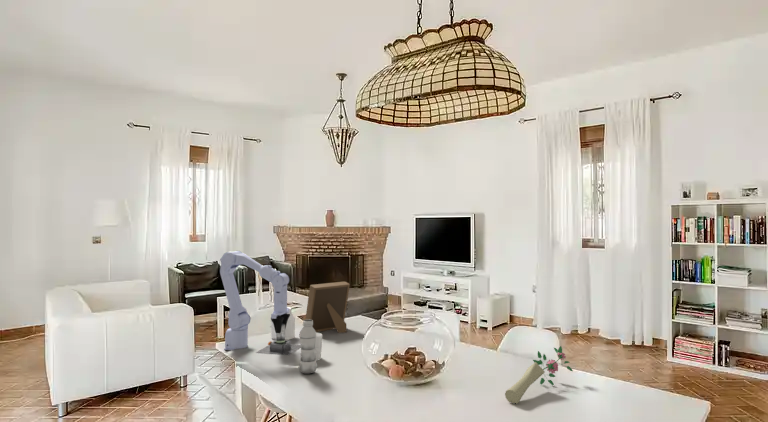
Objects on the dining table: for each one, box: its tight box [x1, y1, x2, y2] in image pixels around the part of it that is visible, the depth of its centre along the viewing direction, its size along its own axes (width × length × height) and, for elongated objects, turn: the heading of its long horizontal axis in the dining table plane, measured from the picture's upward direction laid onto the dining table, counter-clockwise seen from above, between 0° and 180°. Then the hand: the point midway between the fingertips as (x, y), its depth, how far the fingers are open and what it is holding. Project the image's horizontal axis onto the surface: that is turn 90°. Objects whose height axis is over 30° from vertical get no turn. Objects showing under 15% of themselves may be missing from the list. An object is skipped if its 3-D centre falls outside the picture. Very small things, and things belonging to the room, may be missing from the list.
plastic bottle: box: [298, 319, 318, 375], centre depth 186 cm, size 6×7×20 cm
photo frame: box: [304, 281, 351, 334], centre depth 252 cm, size 15×22×25 cm
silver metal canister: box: [275, 323, 285, 344], centre depth 215 cm, size 4×4×8 cm
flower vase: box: [504, 345, 574, 405], centre depth 168 cm, size 12×12×35 cm
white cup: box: [315, 332, 323, 361], centre depth 205 cm, size 8×8×10 cm
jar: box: [270, 306, 296, 341], centre depth 237 cm, size 12×10×15 cm
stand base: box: [255, 339, 301, 356], centre depth 215 cm, size 16×16×4 cm
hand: (280, 331), depth 215 cm, fingers closed on silver metal canister, 4 cm apart
